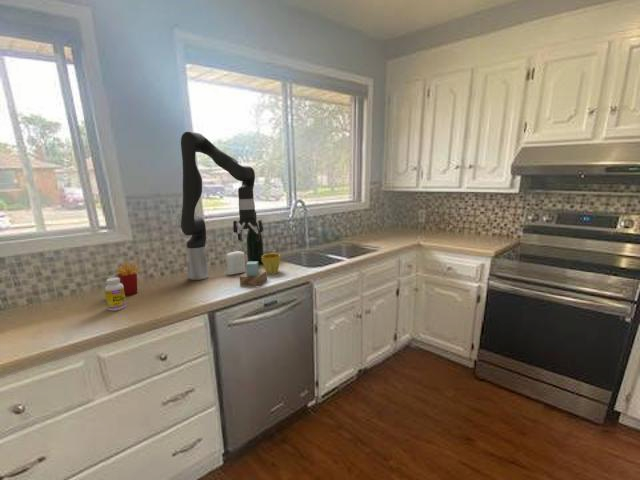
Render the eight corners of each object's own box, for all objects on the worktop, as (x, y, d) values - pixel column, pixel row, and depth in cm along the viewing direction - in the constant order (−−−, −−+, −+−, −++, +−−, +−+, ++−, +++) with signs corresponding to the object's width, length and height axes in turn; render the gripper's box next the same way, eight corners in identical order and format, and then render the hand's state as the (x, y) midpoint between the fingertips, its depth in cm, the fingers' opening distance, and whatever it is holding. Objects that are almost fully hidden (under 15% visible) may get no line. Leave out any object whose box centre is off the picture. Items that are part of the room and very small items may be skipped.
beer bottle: (244, 264, 199) (240, 211, 193) (252, 260, 209) (249, 209, 202) (259, 265, 196) (256, 211, 189) (267, 260, 206) (264, 209, 199)
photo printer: (244, 270, 186) (242, 249, 183) (246, 272, 182) (245, 251, 180) (226, 273, 180) (224, 252, 178) (228, 275, 177) (226, 253, 174)
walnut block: (240, 286, 161) (239, 276, 160) (249, 279, 170) (248, 270, 169) (258, 287, 158) (258, 277, 157) (266, 280, 168) (266, 271, 166)
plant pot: (279, 275, 175) (278, 257, 173) (260, 275, 176) (259, 258, 174) (282, 269, 186) (281, 253, 184) (264, 270, 186) (263, 253, 184)
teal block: (246, 275, 160) (245, 264, 159) (249, 272, 165) (248, 261, 164) (256, 275, 160) (255, 264, 159) (258, 272, 165) (258, 261, 164)
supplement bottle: (113, 312, 132) (108, 282, 130) (105, 309, 136) (100, 280, 133) (129, 306, 138) (125, 277, 135) (121, 303, 141) (117, 275, 139)
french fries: (124, 297, 149) (119, 266, 146) (118, 293, 154) (113, 263, 151) (144, 292, 155) (140, 261, 152) (138, 288, 161) (134, 259, 158)
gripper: (229, 209, 153) (232, 242, 156) (259, 208, 152) (261, 242, 155) (235, 207, 160) (237, 239, 164) (263, 207, 159) (265, 239, 162)
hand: (249, 240), depth 159 cm, fingers open, 8 cm apart
